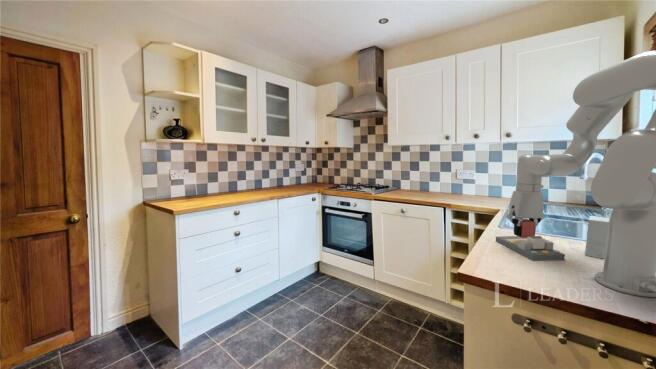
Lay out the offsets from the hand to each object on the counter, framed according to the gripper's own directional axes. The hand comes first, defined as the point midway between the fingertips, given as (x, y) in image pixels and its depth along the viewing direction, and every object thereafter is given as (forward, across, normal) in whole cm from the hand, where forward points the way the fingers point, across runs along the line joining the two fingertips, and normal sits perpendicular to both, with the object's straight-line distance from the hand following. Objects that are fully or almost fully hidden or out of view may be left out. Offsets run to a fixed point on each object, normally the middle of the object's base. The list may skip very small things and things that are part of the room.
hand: (524, 234), depth 104 cm
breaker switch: (+3, 0, +6) cm, 6 cm away
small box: (+5, -21, +8) cm, 23 cm away
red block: (0, 0, 0) cm, 0 cm away
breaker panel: (+5, 0, +2) cm, 5 cm away
